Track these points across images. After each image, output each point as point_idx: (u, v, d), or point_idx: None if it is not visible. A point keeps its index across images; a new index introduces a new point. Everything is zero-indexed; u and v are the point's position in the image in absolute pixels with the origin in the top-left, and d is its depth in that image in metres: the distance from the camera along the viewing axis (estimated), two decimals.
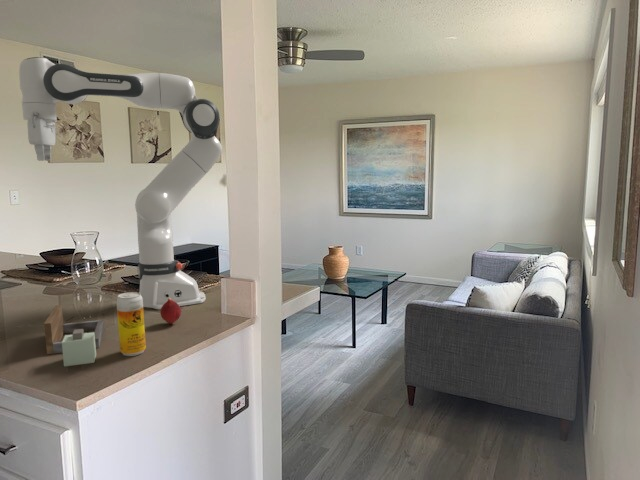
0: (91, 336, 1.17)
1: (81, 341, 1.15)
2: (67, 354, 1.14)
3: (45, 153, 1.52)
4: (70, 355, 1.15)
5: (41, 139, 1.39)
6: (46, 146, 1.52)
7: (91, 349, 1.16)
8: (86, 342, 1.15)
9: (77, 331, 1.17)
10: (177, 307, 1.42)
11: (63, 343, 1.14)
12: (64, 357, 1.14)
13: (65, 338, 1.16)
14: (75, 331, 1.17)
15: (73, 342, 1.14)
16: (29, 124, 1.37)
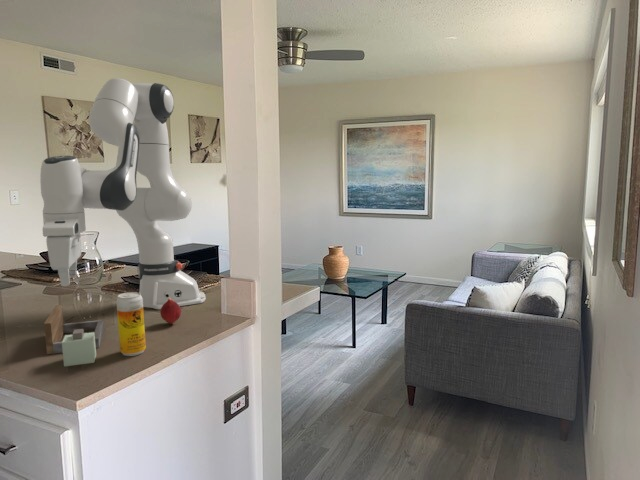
0: (91, 336, 1.17)
1: (81, 341, 1.15)
2: (67, 354, 1.14)
3: None
4: (70, 355, 1.15)
5: None
6: None
7: (91, 349, 1.16)
8: (86, 342, 1.15)
9: (77, 331, 1.17)
10: (177, 307, 1.42)
11: (63, 343, 1.14)
12: (64, 357, 1.14)
13: (65, 338, 1.16)
14: (75, 331, 1.17)
15: (73, 342, 1.14)
16: None
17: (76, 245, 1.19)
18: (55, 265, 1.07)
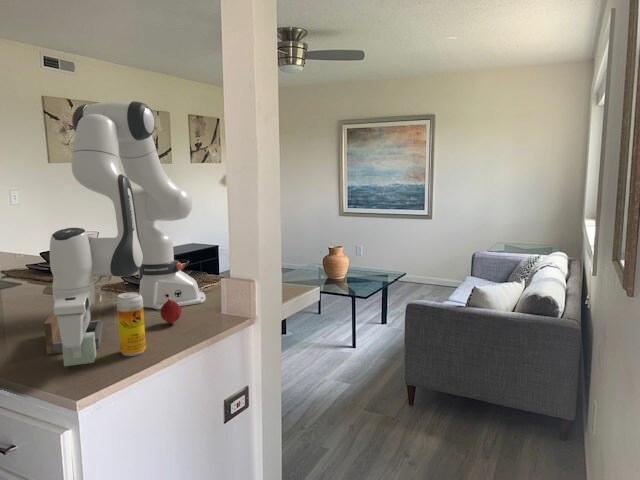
0: (91, 336, 1.17)
1: None
2: (67, 353, 1.14)
3: None
4: (70, 355, 1.15)
5: None
6: None
7: (91, 349, 1.16)
8: (86, 342, 1.15)
9: None
10: (177, 307, 1.42)
11: None
12: (64, 357, 1.14)
13: None
14: None
15: None
16: None
17: (86, 314, 1.19)
18: (67, 344, 1.07)
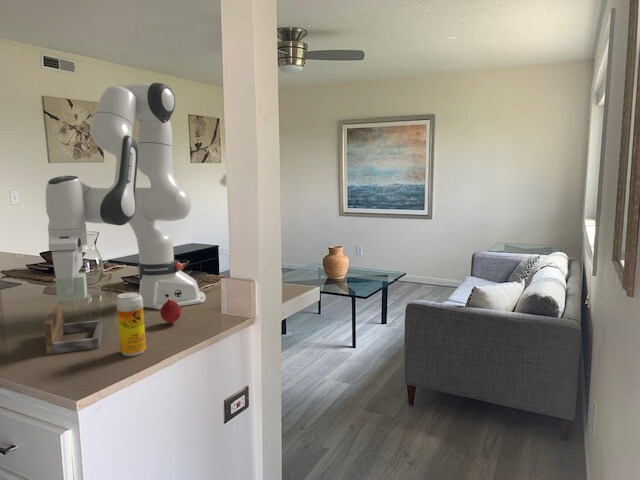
0: (83, 275, 1.28)
1: None
2: (60, 289, 1.25)
3: None
4: (63, 291, 1.26)
5: None
6: None
7: (82, 286, 1.27)
8: (78, 280, 1.26)
9: None
10: (177, 307, 1.42)
11: None
12: (57, 292, 1.25)
13: None
14: None
15: None
16: None
17: (78, 257, 1.30)
18: (60, 277, 1.18)
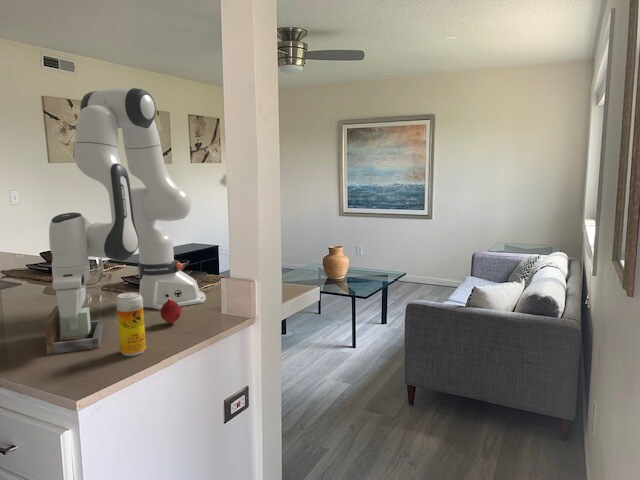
0: (86, 310, 1.30)
1: None
2: (64, 325, 1.27)
3: None
4: (66, 327, 1.27)
5: None
6: None
7: (86, 321, 1.29)
8: (82, 315, 1.28)
9: None
10: (177, 307, 1.42)
11: None
12: (61, 328, 1.27)
13: None
14: None
15: None
16: None
17: (82, 291, 1.32)
18: (64, 315, 1.20)
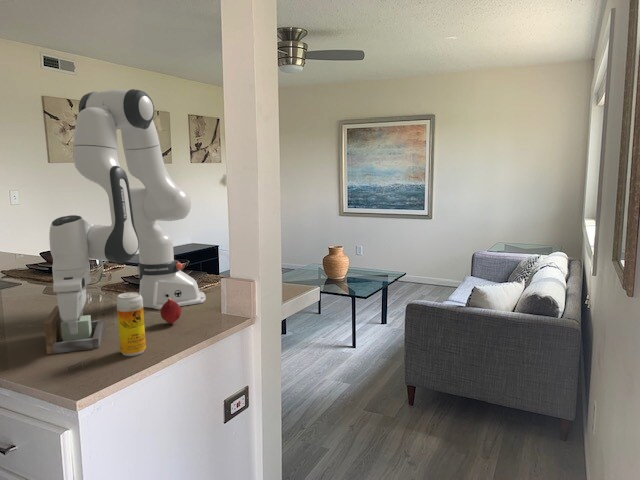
0: (87, 318, 1.31)
1: (78, 322, 1.28)
2: (65, 333, 1.28)
3: None
4: (68, 335, 1.28)
5: None
6: None
7: (87, 330, 1.29)
8: (83, 323, 1.29)
9: None
10: (177, 307, 1.42)
11: (62, 324, 1.27)
12: (63, 336, 1.28)
13: None
14: None
15: None
16: None
17: (82, 294, 1.32)
18: (65, 318, 1.20)
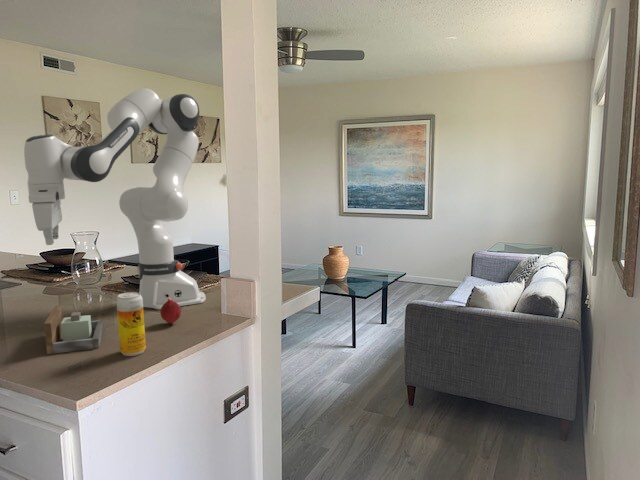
0: (87, 318, 1.31)
1: (78, 322, 1.28)
2: (65, 333, 1.28)
3: None
4: (68, 335, 1.28)
5: None
6: None
7: (87, 329, 1.29)
8: (83, 323, 1.29)
9: (75, 313, 1.30)
10: (177, 307, 1.42)
11: (62, 324, 1.27)
12: (63, 336, 1.28)
13: (64, 320, 1.30)
14: (73, 313, 1.30)
15: (71, 323, 1.28)
16: None
17: (57, 211, 1.41)
18: (41, 226, 1.29)
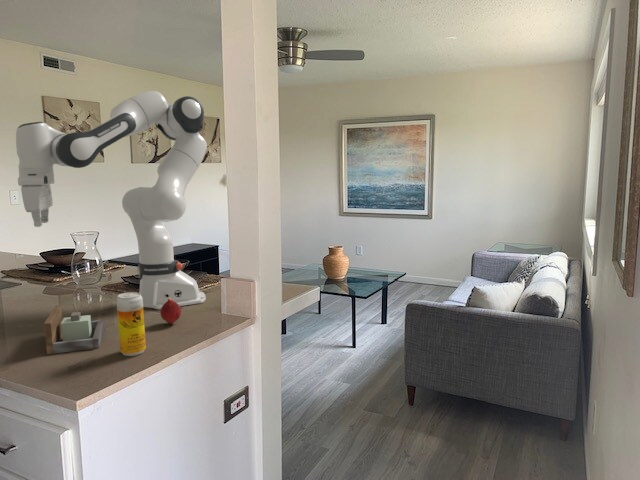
0: (87, 318, 1.31)
1: (78, 322, 1.28)
2: (65, 333, 1.28)
3: None
4: (68, 335, 1.28)
5: None
6: None
7: (87, 329, 1.29)
8: (83, 323, 1.29)
9: (74, 313, 1.30)
10: (177, 307, 1.42)
11: (62, 324, 1.27)
12: (63, 336, 1.28)
13: (64, 320, 1.30)
14: (73, 313, 1.30)
15: (71, 323, 1.28)
16: None
17: (47, 195, 1.47)
18: (28, 208, 1.35)
